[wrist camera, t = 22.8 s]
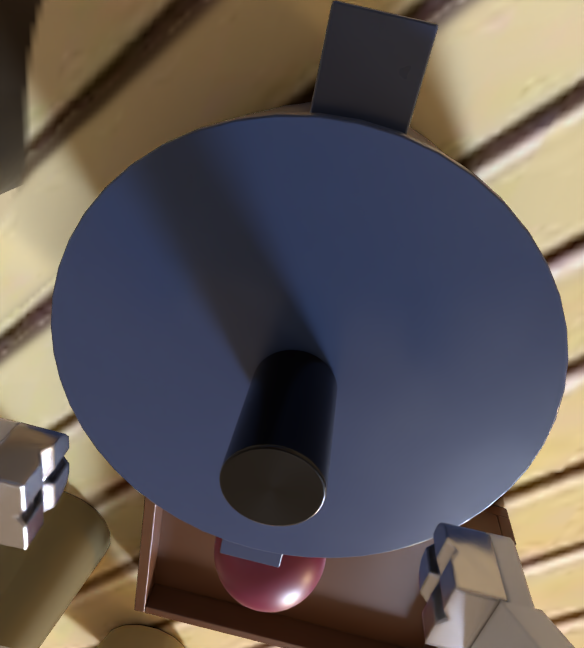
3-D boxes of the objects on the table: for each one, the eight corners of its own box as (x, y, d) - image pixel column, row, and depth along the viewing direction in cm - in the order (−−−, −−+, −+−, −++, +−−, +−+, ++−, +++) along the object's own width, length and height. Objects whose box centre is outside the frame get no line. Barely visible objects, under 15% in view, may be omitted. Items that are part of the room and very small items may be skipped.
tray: (147, 577, 32) (134, 610, 31) (164, 423, 27) (148, 452, 25) (426, 648, 32) (429, 685, 30) (506, 508, 26) (516, 544, 24)
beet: (209, 588, 27) (168, 527, 23) (273, 506, 30) (247, 439, 25) (290, 655, 24) (260, 599, 20) (353, 557, 27) (338, 491, 23)
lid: (69, 477, 20) (-18, 605, 15) (67, 46, 13) (-94, 54, 8) (451, 572, 20) (474, 730, 15) (661, 185, 13) (818, 269, 8)
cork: (84, 576, 33) (-33, 797, 24) (-5, 527, 32) (-166, 738, 22) (128, 527, 31) (16, 753, 21) (33, 471, 29) (-132, 684, 20)
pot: (142, 418, 27) (73, 533, 20) (179, -29, 17) (74, -62, 11) (408, 484, 26) (418, 620, 20) (587, 66, 17) (706, 84, 11)
